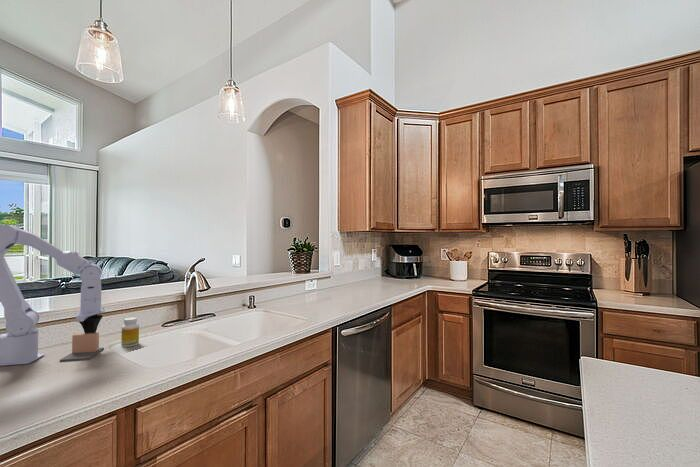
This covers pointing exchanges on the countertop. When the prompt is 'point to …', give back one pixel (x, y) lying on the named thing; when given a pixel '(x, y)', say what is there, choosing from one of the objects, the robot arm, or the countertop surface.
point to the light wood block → (85, 342)
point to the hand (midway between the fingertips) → (90, 337)
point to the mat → (80, 356)
